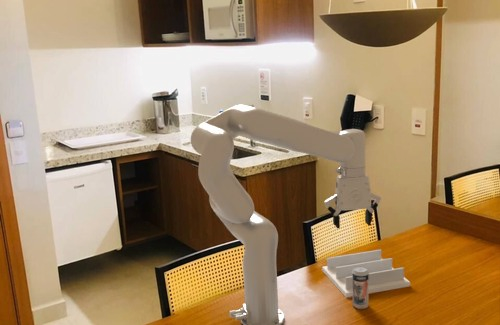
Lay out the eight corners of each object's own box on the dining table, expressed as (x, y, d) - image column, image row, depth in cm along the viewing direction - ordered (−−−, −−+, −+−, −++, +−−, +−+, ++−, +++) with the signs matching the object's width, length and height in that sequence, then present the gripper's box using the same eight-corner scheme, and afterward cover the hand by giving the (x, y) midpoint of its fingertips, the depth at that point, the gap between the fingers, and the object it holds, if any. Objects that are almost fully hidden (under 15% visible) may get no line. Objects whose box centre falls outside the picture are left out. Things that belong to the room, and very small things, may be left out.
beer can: (350, 308, 155) (350, 271, 152) (355, 300, 159) (354, 264, 157) (366, 311, 153) (366, 273, 150) (370, 303, 157) (370, 267, 154)
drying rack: (346, 297, 162) (345, 281, 160) (322, 270, 180) (321, 256, 179) (410, 286, 166) (410, 270, 165) (380, 261, 185) (380, 246, 184)
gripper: (327, 176, 150) (328, 232, 154) (385, 172, 152) (384, 227, 156) (320, 170, 157) (321, 223, 161) (376, 165, 159) (375, 218, 163)
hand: (352, 225), depth 159 cm, fingers open, 9 cm apart
